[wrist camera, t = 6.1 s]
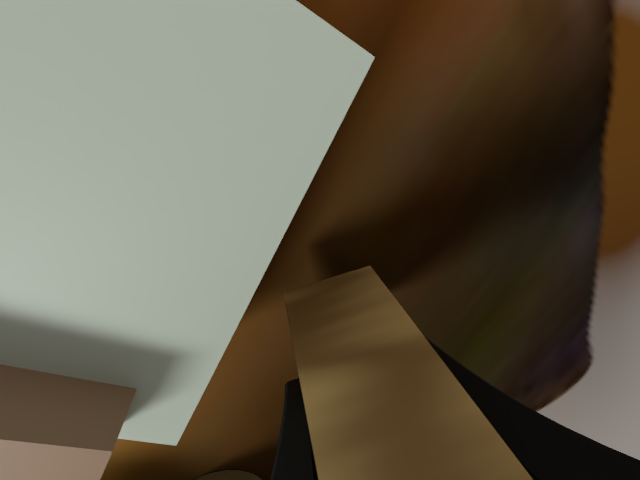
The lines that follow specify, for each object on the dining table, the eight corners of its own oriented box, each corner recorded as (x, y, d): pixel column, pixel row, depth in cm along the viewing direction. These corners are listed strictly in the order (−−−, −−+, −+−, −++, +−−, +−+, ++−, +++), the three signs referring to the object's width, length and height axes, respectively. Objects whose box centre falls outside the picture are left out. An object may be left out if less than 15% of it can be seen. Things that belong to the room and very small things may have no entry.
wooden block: (304, 358, 15) (385, 725, 6) (282, 291, 13) (354, 666, 4) (381, 333, 16) (562, 643, 7) (370, 265, 14) (594, 560, 5)
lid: (-307, 346, 8) (-597, 472, 5) (-365, -446, 4) (-1452, -1420, 2) (181, 420, 12) (162, 510, 9) (361, 62, 8) (414, 41, 6)
